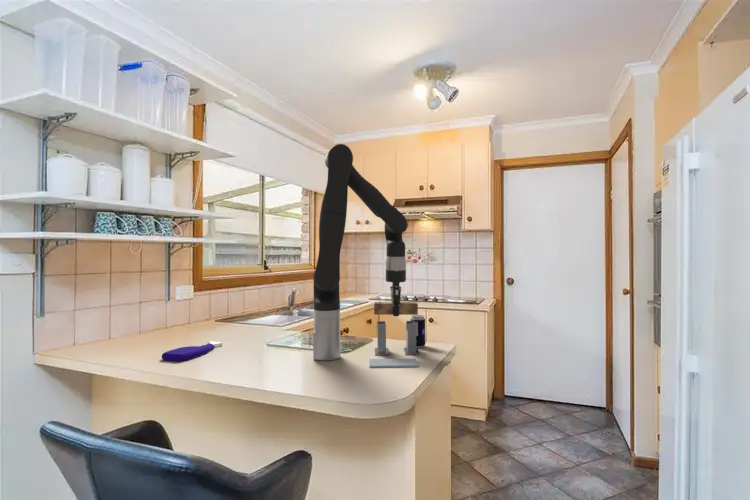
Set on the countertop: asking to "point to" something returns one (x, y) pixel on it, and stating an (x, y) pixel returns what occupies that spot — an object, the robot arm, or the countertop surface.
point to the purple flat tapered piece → (189, 352)
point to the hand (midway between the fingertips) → (395, 314)
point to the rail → (387, 308)
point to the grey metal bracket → (381, 339)
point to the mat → (393, 363)
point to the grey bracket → (411, 339)
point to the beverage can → (419, 330)
